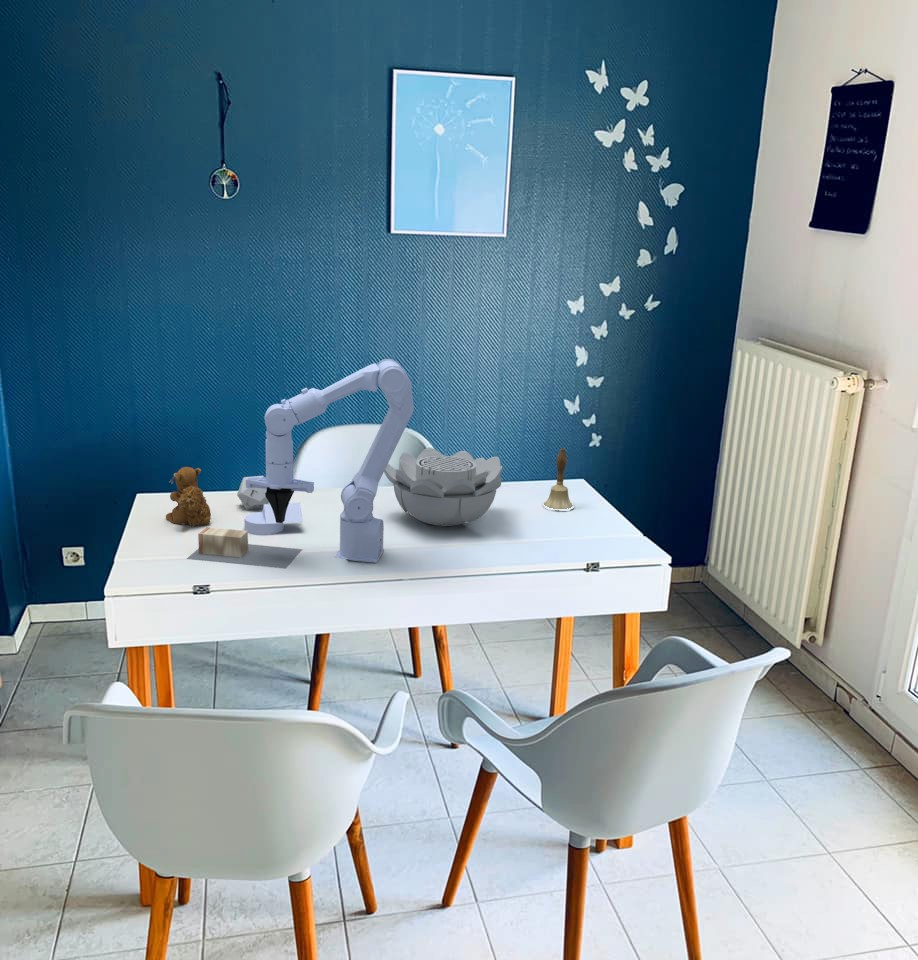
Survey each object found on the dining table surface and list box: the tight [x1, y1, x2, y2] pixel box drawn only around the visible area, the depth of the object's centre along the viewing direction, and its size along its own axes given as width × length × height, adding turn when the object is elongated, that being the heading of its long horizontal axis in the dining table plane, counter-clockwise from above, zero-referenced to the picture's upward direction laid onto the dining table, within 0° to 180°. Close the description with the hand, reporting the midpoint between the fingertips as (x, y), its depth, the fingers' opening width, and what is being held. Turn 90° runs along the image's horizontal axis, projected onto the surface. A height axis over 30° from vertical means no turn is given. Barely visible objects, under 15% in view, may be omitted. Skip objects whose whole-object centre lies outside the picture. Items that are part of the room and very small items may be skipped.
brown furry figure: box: [165, 466, 212, 528], centre depth 227 cm, size 10×14×13 cm
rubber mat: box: [186, 543, 303, 569], centre depth 208 cm, size 22×12×1 cm, turn 82°
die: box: [236, 475, 270, 511], centre depth 241 cm, size 8×9×10 cm
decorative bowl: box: [383, 447, 503, 527], centre depth 236 cm, size 30×30×15 cm
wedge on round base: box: [243, 502, 304, 536], centre depth 224 cm, size 9×7×13 cm
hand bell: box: [543, 448, 574, 509], centre depth 251 cm, size 8×8×16 cm
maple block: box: [197, 526, 249, 557], centre depth 208 cm, size 4×4×10 cm
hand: (280, 521), depth 206 cm, fingers closed
